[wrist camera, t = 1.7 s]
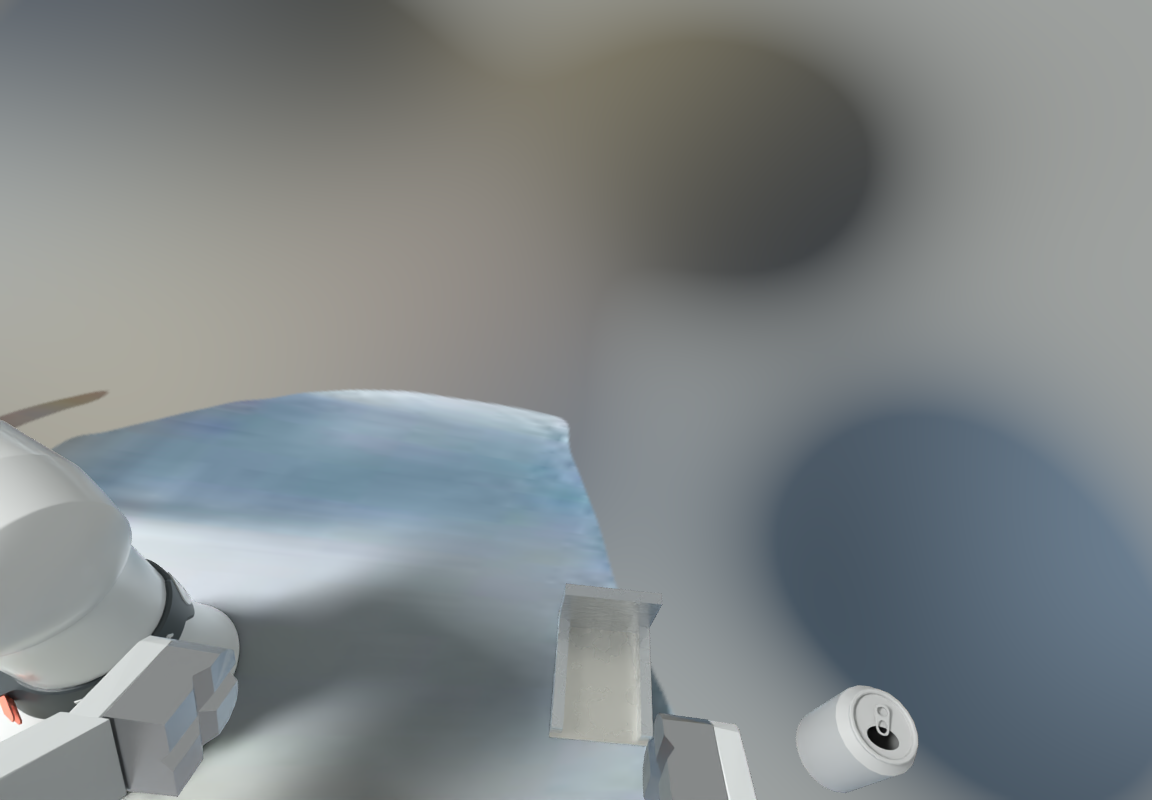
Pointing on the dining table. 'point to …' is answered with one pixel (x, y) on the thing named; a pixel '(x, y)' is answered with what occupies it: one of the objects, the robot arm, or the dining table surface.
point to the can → (857, 739)
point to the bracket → (604, 666)
